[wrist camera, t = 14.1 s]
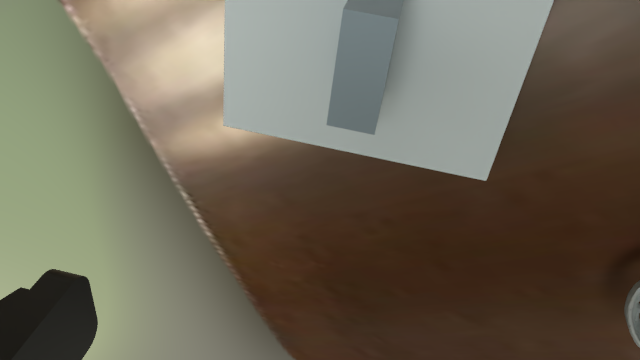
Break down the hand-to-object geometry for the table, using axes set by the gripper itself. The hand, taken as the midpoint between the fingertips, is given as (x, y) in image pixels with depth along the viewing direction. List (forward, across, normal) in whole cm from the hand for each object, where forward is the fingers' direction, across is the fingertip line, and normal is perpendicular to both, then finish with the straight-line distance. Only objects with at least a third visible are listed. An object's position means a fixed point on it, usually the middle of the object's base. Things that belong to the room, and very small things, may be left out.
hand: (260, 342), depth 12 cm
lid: (+23, 0, +1) cm, 23 cm away
